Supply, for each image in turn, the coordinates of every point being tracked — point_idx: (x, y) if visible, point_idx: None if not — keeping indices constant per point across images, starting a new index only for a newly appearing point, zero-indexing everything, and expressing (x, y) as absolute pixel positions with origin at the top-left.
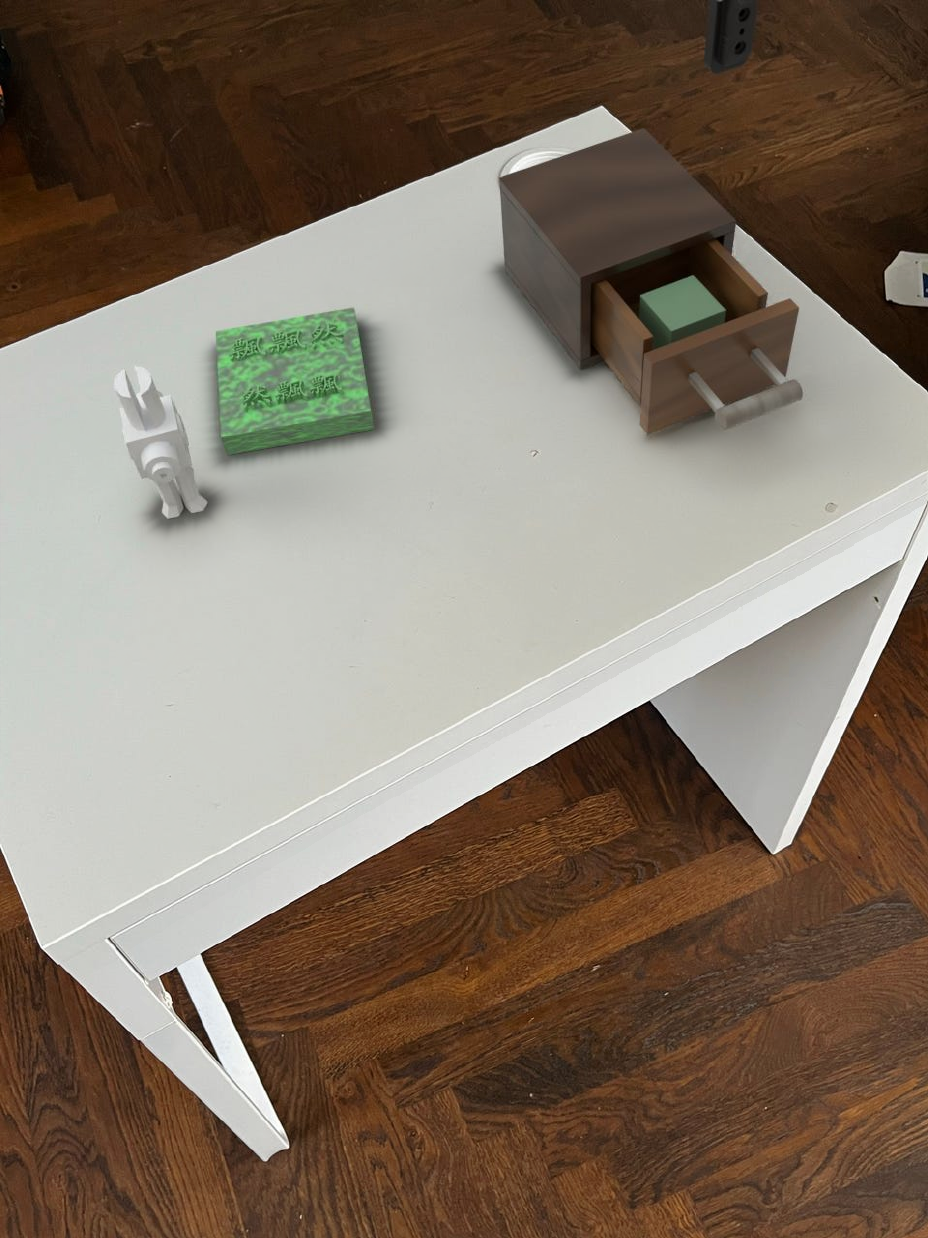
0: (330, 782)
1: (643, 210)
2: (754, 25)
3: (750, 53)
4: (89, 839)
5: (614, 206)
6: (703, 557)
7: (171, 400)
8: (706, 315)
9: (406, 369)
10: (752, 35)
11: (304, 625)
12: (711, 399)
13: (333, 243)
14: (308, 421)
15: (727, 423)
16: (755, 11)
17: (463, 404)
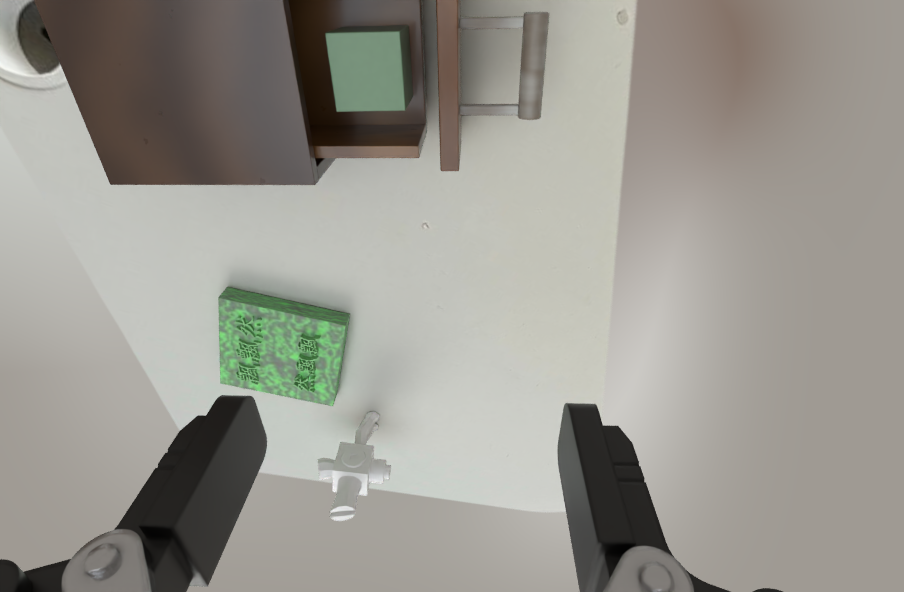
0: (599, 413)
1: (216, 57)
2: (647, 491)
3: (626, 436)
4: (559, 492)
5: (198, 87)
6: (597, 159)
7: (338, 470)
8: (398, 59)
9: (292, 273)
10: (639, 472)
11: (494, 395)
12: (504, 114)
13: (106, 267)
14: (339, 361)
15: (540, 116)
16: (659, 524)
17: (349, 251)
